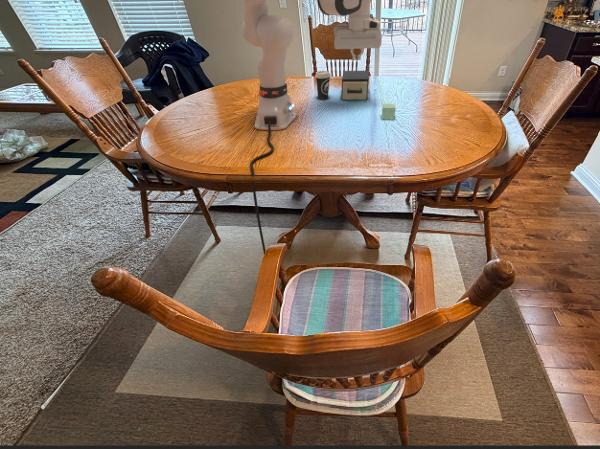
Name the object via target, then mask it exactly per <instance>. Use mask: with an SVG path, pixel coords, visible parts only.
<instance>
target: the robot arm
mask: <svg viewBox="0 0 600 449" xmlns="http://www.w3.org/2000/svg"><path fill="white" fill-rule="evenodd" d="M316 2H317V7H318V9H319V11H320V12H321V13H322V14H324V15H325V16H336V17H346V16H348V17H347V18H348V20H347V23H337V24H336V25H335V26H334V28H333V35H334V44H333V47H334V49H335V50H350V54H351V56H352V61H356V60H357V61H361V58H362V55H363V54H364V51H365V49H379V48H381V46H382V31H381V21H380V20H379V19H376V18H373V17H371V3H372V0H316ZM241 3H242V9H243V22H242V27H241V31H242V35H243V37H244V39H245V40H246V41H247V42H248V43H250V44H251V45H253V46H255V47H260V48H262V57H261V60H260V61H259V63H258V65H257V69H258V70H257V71H258V77H259V89H258V90H259V91H258V95H259V97H258V107H257V113H256V116H255V121H254V129H255V130H260V131H267V134H268V135H267V139H266V140H267V141H266V142H267V144H268V145H269V147H270V150H269V151H268V152H266V153H263V154H261V155H257V156H256V157H254V158H253V159H252V160H251V161H250V162H249V167H250V172H251V177H252V178H254V177H255V169H254V163H255V162H256V161H257V160H259V159H262V158H264V157H267V156H269V155H271V154H272V153H273V152H274V150H275V147H274V145H273V144H272V143H271V141H270V139H271V135H272V131H279V130H285V129H286V128H287V127H289V125H291V123H292V122H293V121H294V120H295V119H296V118H297V113H295V112H294V109H293V108H294V107H295V103H293V101H292V97H291V96H290V95H289V94H288V84H287V82H286V80H287V79H286V58H287V53H288V50H289V48H290V47H291V46H292V45H293V43H294V40H295V35H296V34H295V32H296V31H295V26H294V24H293V23H292V22H291V20H289V19H287V18H286V17H283V16H281V15H274V14H270V12H269V0H241ZM355 49H358V50H359V49H360V53H359V54H357V55H356V54H355V53H354V51H355ZM251 187H252V194H253V201H254V202H253V203H254V209H255V214H256V220H257V226H258V231H259V235H260V236H259V237H260V239H261V240H260V241H261V247H262V251H263V252H262V253H263V255H264V254H265V251H266V246H265V245H266V244H265V241H264V234H263V230H262V224H261V219H260V213H259V205H258V199H257V198H258V197H257V192H256V181H251ZM266 252H267V251H266Z"/></svg>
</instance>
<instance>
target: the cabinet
mask: <svg viewBox="0 0 600 449" xmlns="http://www.w3.org/2000/svg"><path fill="white" fill-rule="evenodd" d="M345 81H366V82H368V83H367V95H366V99H342V95H343V82H345ZM369 82H370V72H369V70H342V76H341V93H340V94H341V95H340V96H341V97H340V98H341V101H367V100H368V96H369Z"/></svg>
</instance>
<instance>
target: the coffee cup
mask: <svg viewBox="0 0 600 449" xmlns="http://www.w3.org/2000/svg"><path fill="white" fill-rule="evenodd" d="M314 77H315V81H316V82H315V83H316V92H317V99H318V100H327V99H328V98H329V93H330V92H329V91H330V90H329V89H330V81H331V80H330V79H331V73H330V71H328V70H320V71H317V72H315V75H314Z"/></svg>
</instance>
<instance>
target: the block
mask: <svg viewBox="0 0 600 449" xmlns="http://www.w3.org/2000/svg"><path fill="white" fill-rule="evenodd" d="M396 109H397V107H396V103H382V109H381V120H382V121H383V120H385V121H388V120H391V121H392V120H393V121H394V120H395V116H396Z"/></svg>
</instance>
